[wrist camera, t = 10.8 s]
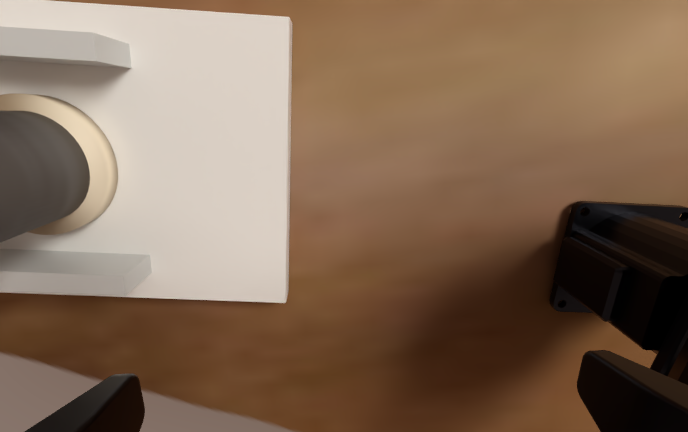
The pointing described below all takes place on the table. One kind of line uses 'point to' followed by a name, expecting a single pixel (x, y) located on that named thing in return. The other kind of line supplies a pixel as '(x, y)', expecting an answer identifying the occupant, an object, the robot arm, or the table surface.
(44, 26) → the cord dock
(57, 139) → the disc
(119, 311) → the table surface
